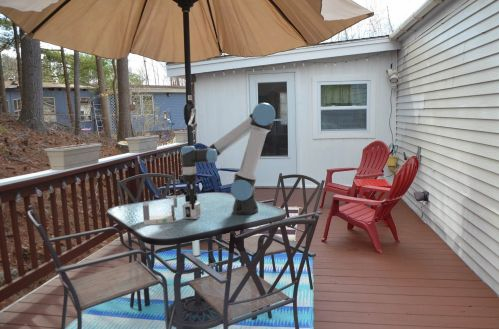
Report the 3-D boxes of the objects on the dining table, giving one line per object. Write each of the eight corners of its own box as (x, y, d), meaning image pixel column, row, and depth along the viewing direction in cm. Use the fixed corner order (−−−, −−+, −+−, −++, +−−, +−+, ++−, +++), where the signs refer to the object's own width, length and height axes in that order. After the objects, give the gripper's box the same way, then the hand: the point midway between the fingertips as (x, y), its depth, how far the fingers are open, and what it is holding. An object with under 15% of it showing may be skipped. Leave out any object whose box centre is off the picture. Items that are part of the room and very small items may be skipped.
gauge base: (175, 217, 215) (174, 199, 214) (176, 221, 206) (175, 203, 205) (144, 220, 211) (142, 202, 209) (144, 225, 202) (142, 205, 201)
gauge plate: (176, 215, 215) (175, 195, 214) (178, 220, 205) (176, 198, 204) (171, 216, 214) (170, 195, 213) (172, 220, 205) (171, 199, 203)
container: (196, 218, 208) (195, 195, 207) (183, 218, 210) (181, 195, 208) (201, 215, 216) (199, 192, 214) (188, 215, 217) (186, 192, 216)
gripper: (181, 171, 220) (183, 209, 222) (184, 177, 198) (187, 218, 201) (193, 170, 222) (196, 207, 224) (198, 176, 200) (201, 217, 203)
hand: (192, 212), depth 213 cm, fingers closed on container, 10 cm apart
